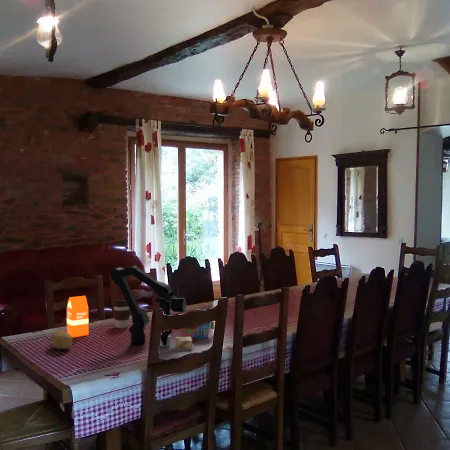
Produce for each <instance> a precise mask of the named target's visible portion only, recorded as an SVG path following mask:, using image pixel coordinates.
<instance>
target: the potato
mask: <svg viewBox="0 0 450 450" xmlns="http://www.w3.org/2000/svg"><path fill="white" fill-rule="evenodd" d="M50 339H51V340H50V341H51V345H52V347H54V348H56V350H57V349H58V350H67V349H69V348H70V347H71V346H72V344H73V337H72V336H71V335H70V334H69V333H67V331H65V330H64V329H63V330H61V329H57V330H55V331H54V332H52V335H51V338H50Z"/></svg>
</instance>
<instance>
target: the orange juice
mask: <svg viewBox="0 0 450 450" xmlns="http://www.w3.org/2000/svg"><path fill="white" fill-rule="evenodd" d="M66 332H67V333H69V334H70V335H71V336H72V338H76V337H83V336H87V335H88V336H89V305H88V300H87V297H86V295H81V296H79V295H78V296H72V297H71V296H69V299H68V300H67V306H66Z"/></svg>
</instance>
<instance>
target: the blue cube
mask: <svg viewBox="0 0 450 450" xmlns="http://www.w3.org/2000/svg"><path fill="white" fill-rule="evenodd" d="M170 346H171V334H170V335H169V336H168V339H167V344H166V346H164V345H163V343H162V340H161V348H162V347H170Z"/></svg>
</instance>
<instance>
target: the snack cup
mask: <svg viewBox="0 0 450 450" xmlns="http://www.w3.org/2000/svg"><path fill="white" fill-rule="evenodd" d="M186 329H187V328H186ZM191 329H192V328H191ZM191 329H187V333H188V334H191V332H192V336H193V338H194V339H197V340H198V339H199V340H202V339H203V340H204V339H207V338H208V337H209V331H210V329H211V330H213V329H215V324H214V321H213V322H210V323H207V324H203V325H201V326H199V327H197V328H194V329H192V331H191Z"/></svg>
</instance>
